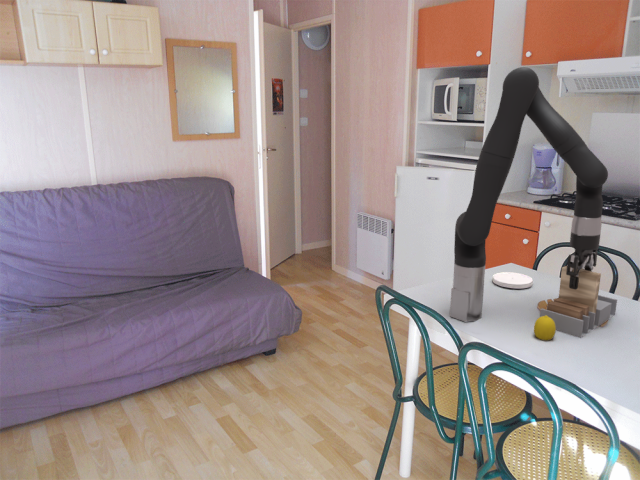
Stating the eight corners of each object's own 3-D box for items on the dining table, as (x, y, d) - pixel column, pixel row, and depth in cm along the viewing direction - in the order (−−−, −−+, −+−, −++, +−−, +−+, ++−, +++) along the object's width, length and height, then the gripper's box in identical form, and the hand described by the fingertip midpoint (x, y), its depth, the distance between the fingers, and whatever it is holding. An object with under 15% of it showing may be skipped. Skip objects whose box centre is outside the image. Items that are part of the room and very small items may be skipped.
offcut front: (576, 335, 144) (579, 311, 143) (545, 325, 151) (547, 303, 149) (580, 332, 146) (583, 309, 144) (549, 322, 153) (551, 300, 151)
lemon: (536, 336, 148) (538, 310, 146) (556, 341, 144) (559, 314, 142) (529, 342, 143) (532, 316, 141) (550, 348, 140) (553, 321, 138)
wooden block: (590, 327, 149) (597, 275, 145) (556, 317, 156) (561, 267, 152) (594, 325, 150) (601, 273, 146) (560, 315, 158) (565, 265, 154)
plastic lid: (485, 279, 196) (485, 273, 195) (518, 277, 198) (519, 271, 198) (504, 292, 183) (504, 285, 182) (540, 289, 185) (540, 282, 184)
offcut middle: (582, 331, 147) (585, 308, 145) (551, 321, 153) (554, 299, 152) (586, 328, 148) (589, 306, 147) (555, 319, 155) (558, 297, 153)
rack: (580, 342, 143) (582, 321, 141) (538, 329, 152) (540, 308, 150) (614, 319, 158) (617, 299, 156) (574, 308, 167) (577, 289, 165)
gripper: (583, 225, 154) (577, 276, 158) (560, 233, 145) (555, 287, 149) (609, 229, 148) (603, 282, 152) (588, 238, 139) (582, 294, 143)
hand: (579, 285), depth 150 cm, fingers open, 8 cm apart
